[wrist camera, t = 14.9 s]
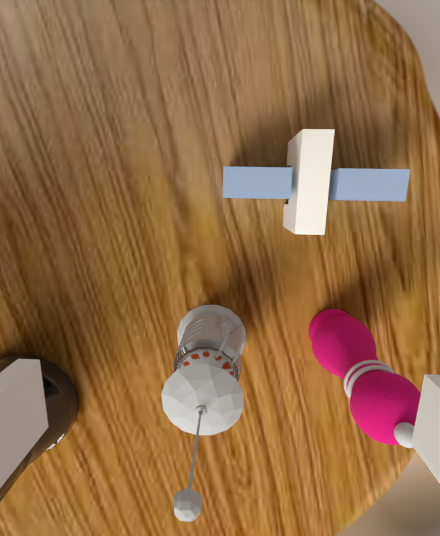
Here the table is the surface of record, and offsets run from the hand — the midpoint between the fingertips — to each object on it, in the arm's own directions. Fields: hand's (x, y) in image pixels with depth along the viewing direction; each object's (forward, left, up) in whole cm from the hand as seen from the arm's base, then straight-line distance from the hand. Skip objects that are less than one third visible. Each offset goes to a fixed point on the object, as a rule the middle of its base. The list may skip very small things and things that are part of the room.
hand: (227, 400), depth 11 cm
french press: (-2, -12, -31) cm, 33 cm away
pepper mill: (+14, -11, -31) cm, 36 cm away
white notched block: (+8, +8, -31) cm, 33 cm away
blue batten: (+8, +8, -31) cm, 33 cm away
